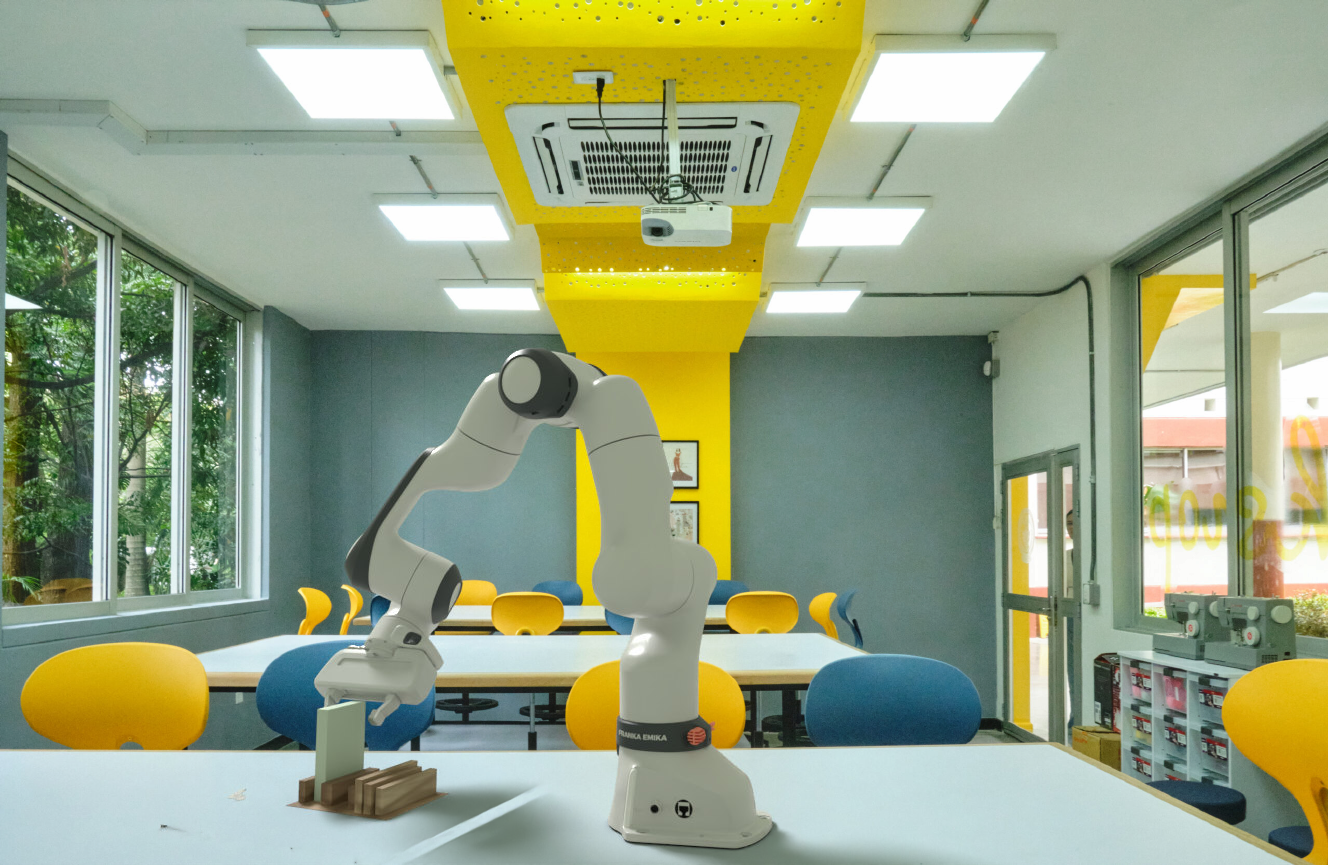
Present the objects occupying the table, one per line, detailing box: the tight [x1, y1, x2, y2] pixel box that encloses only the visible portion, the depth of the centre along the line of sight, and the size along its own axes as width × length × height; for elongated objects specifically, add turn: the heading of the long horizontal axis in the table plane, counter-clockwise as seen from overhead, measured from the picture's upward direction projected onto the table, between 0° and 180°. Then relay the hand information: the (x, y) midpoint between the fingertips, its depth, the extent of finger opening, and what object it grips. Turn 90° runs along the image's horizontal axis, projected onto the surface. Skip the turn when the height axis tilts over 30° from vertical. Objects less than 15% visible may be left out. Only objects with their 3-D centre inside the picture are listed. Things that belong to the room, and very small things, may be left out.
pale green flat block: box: [314, 700, 367, 802], centre depth 138 cm, size 2×8×13 cm, turn 157°
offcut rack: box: [285, 759, 450, 821], centre depth 134 cm, size 18×14×6 cm
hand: (348, 720), depth 139 cm, fingers open, 8 cm apart
